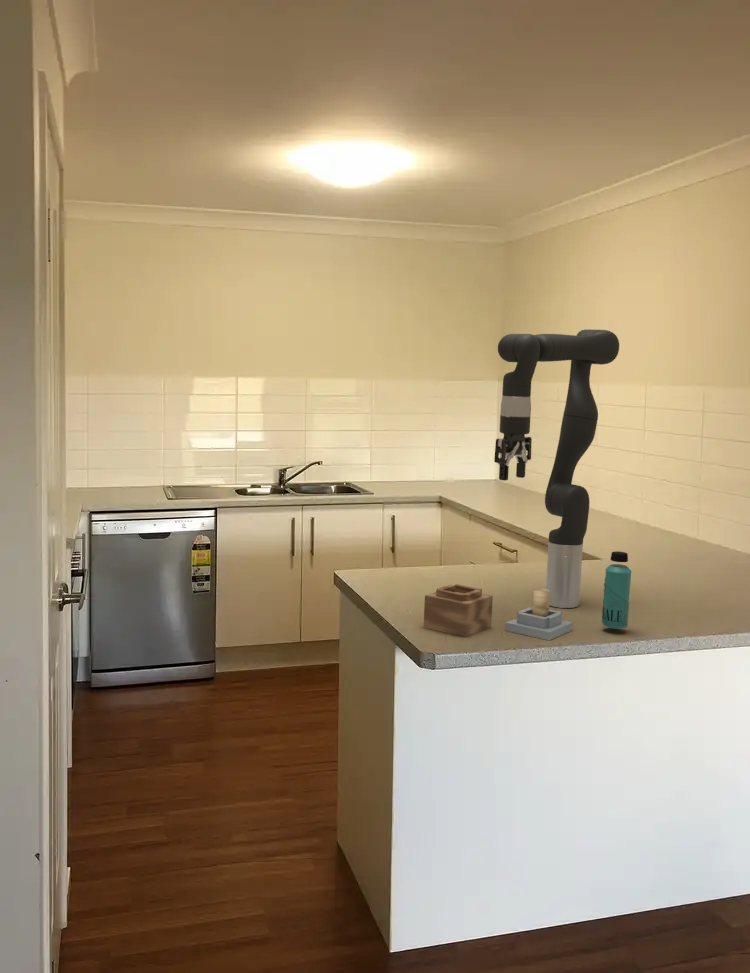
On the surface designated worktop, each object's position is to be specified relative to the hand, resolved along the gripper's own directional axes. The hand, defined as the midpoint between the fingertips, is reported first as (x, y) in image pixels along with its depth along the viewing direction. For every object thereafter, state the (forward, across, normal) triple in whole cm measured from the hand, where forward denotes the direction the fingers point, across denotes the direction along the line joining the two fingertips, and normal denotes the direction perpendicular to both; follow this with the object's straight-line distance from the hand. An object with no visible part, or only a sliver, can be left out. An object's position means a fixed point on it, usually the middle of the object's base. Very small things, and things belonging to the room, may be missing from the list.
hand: (512, 478), depth 241 cm
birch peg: (+34, +4, +12) cm, 36 cm away
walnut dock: (+36, +16, -4) cm, 40 cm away
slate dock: (+36, +4, +12) cm, 38 cm away
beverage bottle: (+36, -9, +26) cm, 46 cm away
